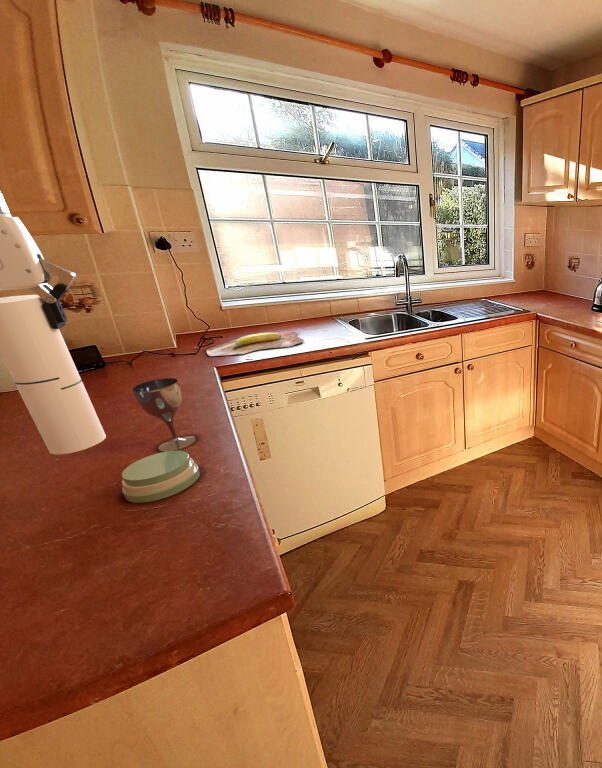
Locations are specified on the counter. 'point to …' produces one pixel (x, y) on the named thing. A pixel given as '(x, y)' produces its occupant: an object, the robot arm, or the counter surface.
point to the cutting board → (255, 343)
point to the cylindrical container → (46, 376)
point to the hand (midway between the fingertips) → (25, 330)
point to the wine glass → (163, 407)
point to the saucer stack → (159, 476)
